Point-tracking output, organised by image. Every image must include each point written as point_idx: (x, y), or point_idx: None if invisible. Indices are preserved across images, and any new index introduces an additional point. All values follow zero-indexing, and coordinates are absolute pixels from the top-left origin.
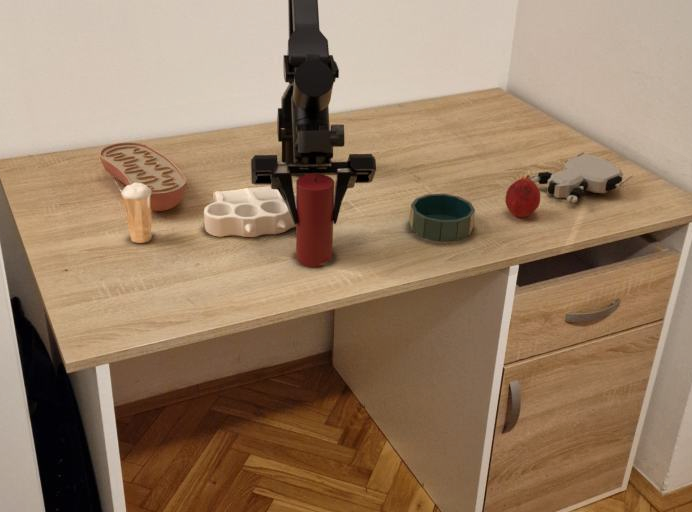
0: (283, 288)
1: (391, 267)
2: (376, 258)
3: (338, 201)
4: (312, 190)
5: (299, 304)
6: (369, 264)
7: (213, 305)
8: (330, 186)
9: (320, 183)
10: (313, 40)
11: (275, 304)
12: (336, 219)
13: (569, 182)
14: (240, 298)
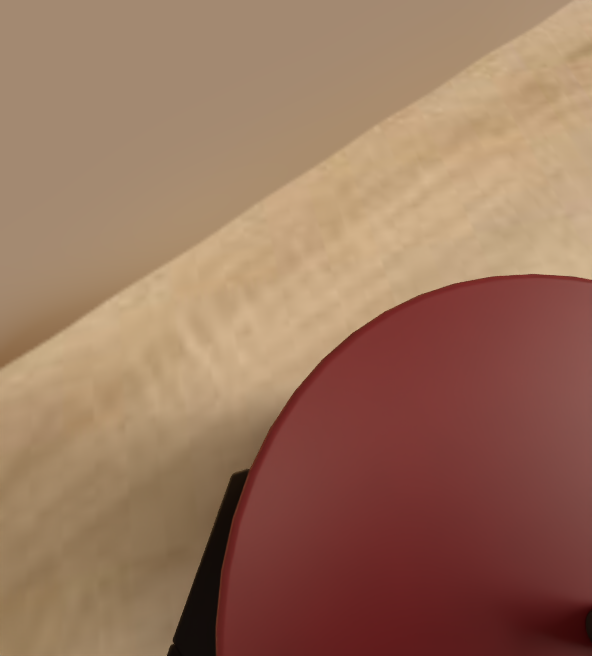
0: (392, 249)
1: (31, 483)
2: (94, 547)
3: (211, 608)
4: (511, 280)
5: (319, 178)
6: (122, 485)
7: (549, 128)
8: (260, 476)
9: (477, 561)
10: None
11: (387, 165)
12: (232, 478)
13: None
14: (495, 173)
